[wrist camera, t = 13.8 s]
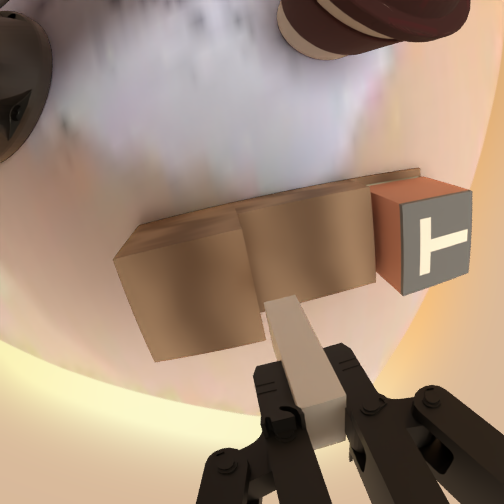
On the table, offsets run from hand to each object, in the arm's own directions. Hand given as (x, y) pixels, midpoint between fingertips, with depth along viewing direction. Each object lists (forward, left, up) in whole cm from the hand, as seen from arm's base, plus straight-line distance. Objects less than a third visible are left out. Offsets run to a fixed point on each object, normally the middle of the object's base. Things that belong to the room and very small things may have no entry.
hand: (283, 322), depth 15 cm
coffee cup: (+9, +17, -13) cm, 24 cm away
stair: (+4, -1, -13) cm, 13 cm away
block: (+13, -1, -5) cm, 14 cm away
